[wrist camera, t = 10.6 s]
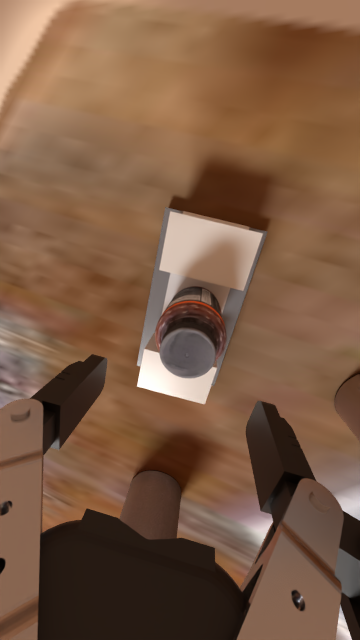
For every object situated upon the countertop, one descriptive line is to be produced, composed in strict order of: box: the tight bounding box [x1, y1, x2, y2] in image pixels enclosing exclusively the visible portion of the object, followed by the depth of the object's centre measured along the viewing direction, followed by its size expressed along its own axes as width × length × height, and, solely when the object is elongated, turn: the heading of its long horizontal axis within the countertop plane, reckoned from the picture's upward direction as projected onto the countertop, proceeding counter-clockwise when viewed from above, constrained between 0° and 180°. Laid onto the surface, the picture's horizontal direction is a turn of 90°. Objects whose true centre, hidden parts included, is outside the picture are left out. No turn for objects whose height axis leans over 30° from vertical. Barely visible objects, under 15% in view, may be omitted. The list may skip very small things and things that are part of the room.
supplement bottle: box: [155, 286, 227, 378], centre depth 20 cm, size 6×6×11 cm
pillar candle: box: [120, 470, 181, 540], centre depth 33 cm, size 10×10×15 cm
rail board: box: [137, 207, 267, 404], centre depth 24 cm, size 20×11×6 cm, turn 167°
